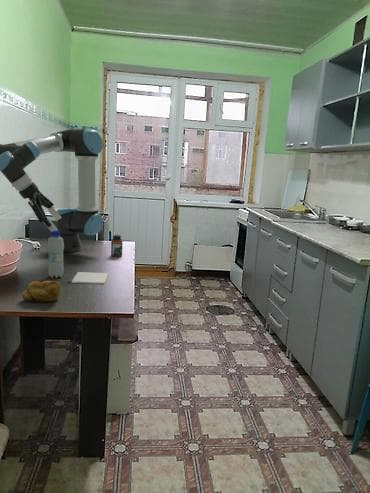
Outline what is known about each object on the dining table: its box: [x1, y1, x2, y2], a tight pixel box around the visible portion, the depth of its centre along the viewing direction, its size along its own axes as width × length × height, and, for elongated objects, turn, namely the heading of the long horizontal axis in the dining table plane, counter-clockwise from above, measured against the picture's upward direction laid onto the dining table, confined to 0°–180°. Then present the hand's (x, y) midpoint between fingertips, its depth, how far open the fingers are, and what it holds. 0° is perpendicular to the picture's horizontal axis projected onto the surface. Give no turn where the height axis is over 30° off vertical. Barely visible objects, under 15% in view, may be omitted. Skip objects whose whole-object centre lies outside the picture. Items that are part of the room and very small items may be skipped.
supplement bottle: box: [110, 234, 123, 258], centre depth 208 cm, size 6×6×11 cm
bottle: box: [47, 231, 65, 279], centre depth 164 cm, size 7×7×20 cm
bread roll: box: [21, 280, 61, 303], centre depth 138 cm, size 13×10×8 cm
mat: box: [67, 271, 109, 285], centre depth 166 cm, size 14×15×1 cm
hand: (57, 225), depth 174 cm, fingers open, 13 cm apart
